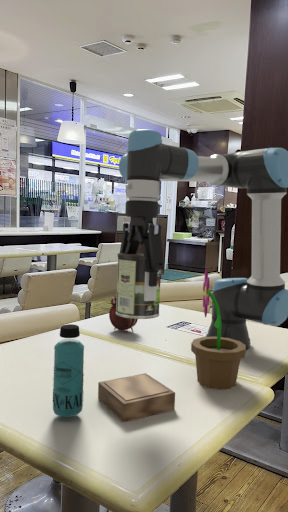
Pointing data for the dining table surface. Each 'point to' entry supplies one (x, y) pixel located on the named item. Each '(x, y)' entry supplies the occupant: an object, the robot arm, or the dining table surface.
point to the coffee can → (134, 288)
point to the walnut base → (136, 396)
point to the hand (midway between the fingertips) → (138, 296)
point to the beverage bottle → (68, 373)
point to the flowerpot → (216, 352)
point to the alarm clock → (120, 318)
